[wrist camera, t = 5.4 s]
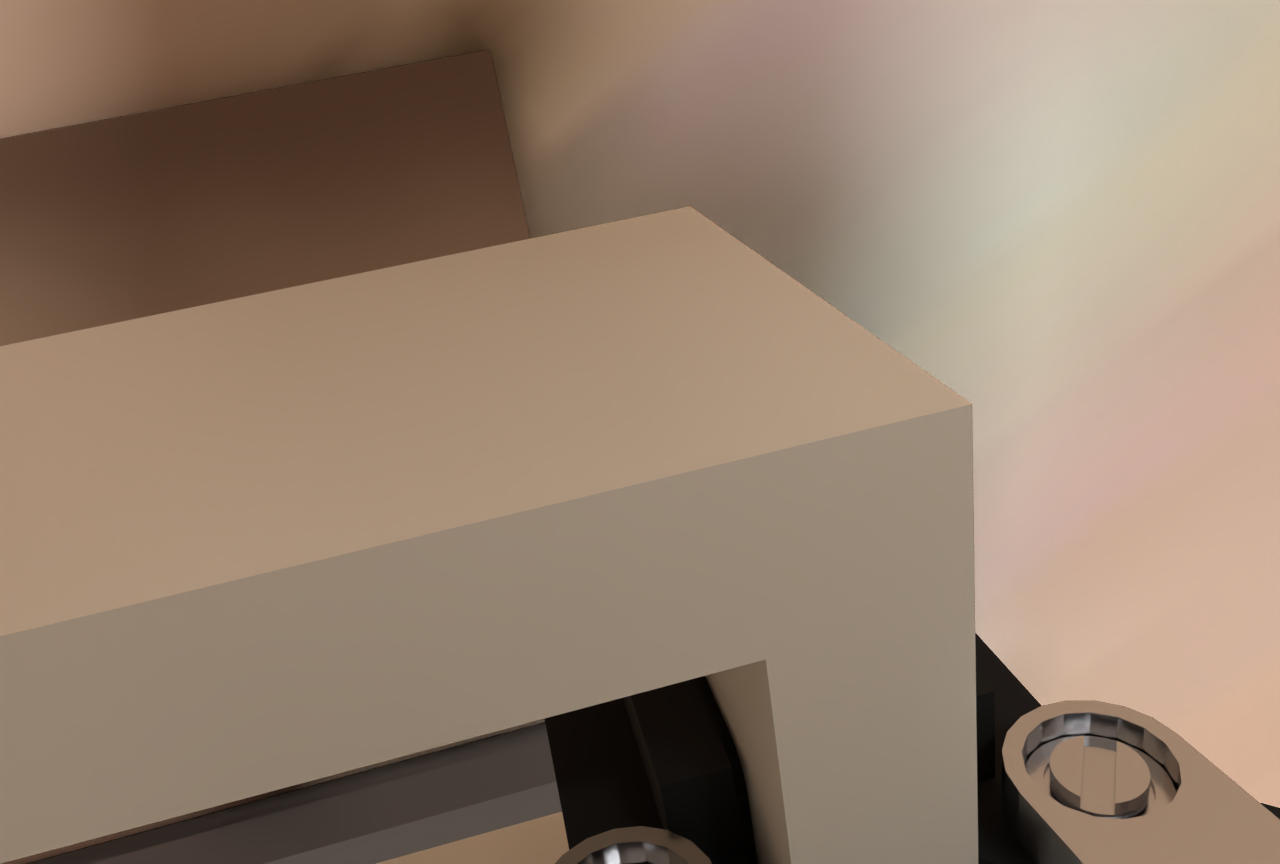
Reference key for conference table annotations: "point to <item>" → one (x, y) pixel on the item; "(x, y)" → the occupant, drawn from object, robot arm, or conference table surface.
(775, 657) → the collar
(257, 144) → the stake stand
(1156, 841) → the robot arm
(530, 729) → the tray
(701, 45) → the conference table surface
